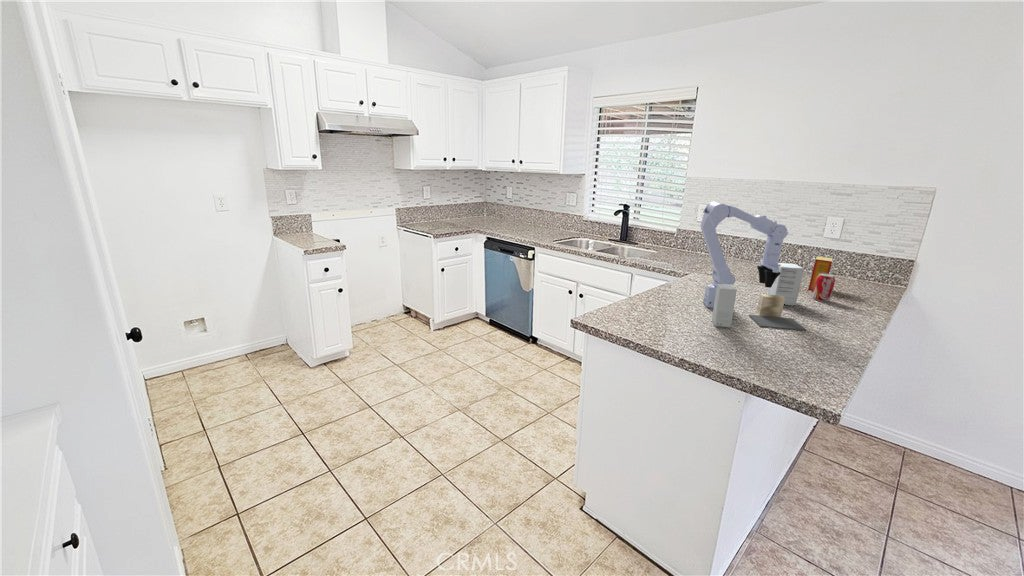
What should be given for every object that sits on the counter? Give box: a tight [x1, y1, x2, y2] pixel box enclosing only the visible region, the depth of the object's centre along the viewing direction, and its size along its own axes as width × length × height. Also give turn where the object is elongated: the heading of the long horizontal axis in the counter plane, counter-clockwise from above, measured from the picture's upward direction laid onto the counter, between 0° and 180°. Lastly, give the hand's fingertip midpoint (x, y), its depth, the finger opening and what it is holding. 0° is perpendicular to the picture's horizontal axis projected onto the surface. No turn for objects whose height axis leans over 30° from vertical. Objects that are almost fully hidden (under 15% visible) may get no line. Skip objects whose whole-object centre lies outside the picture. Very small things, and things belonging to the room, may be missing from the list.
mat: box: [748, 314, 807, 332], centre depth 167 cm, size 16×12×1 cm
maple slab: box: [756, 293, 785, 317], centre depth 173 cm, size 8×3×8 cm, turn 80°
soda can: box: [811, 273, 836, 303], centre depth 196 cm, size 7×7×12 cm
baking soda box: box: [807, 255, 833, 292], centre depth 212 cm, size 10×6×16 cm
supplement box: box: [766, 262, 805, 306], centre depth 190 cm, size 10×9×17 cm
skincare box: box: [711, 284, 738, 329], centre depth 162 cm, size 8×6×15 cm
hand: (765, 285), depth 180 cm, fingers open, 6 cm apart
